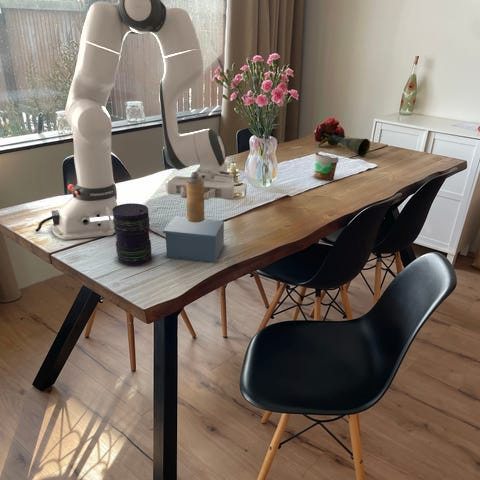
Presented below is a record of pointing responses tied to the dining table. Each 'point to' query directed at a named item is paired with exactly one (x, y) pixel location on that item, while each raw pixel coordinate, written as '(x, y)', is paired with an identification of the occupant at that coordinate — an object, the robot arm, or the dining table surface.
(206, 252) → the storage box
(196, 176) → the pepper mill
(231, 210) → the dining table surface
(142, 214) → the black cylinder
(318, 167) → the food container
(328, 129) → the red rose bouquet
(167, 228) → the box lid
